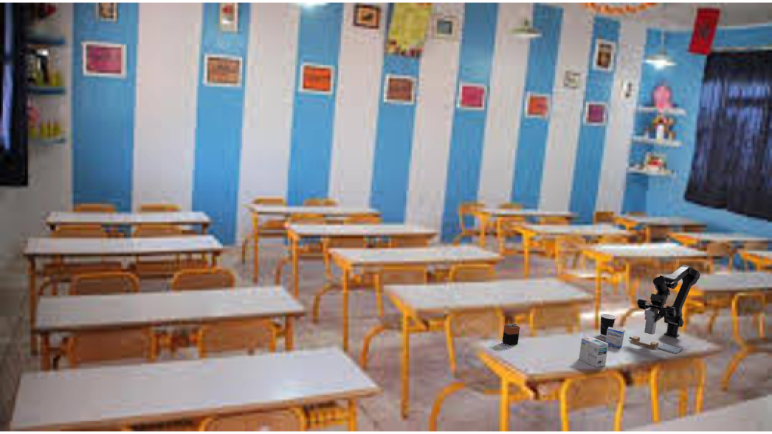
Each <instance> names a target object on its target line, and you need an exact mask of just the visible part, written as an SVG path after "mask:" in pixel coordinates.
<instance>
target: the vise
mask: <svg viewBox="0 0 772 434" xmlns="http://www.w3.org/2000/svg"><path fill="white" fill-rule="evenodd" d="M629 339H630V343H631V344H635V345H638V346H641V347H644V348H648V349H651V350H655V349H658V347H659V341H656V340H653V341H651V342H650V343H645V342H642V341H641V336H638V335H634V336H629Z"/></svg>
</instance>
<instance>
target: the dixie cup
mask: <svg viewBox="0 0 772 434" xmlns="http://www.w3.org/2000/svg"><path fill="white" fill-rule="evenodd" d="M616 319H617V316H615V315H613V314H610V313H609V314H608V313H601V314H600V336H601V337H603V336H604V337H603V338H606V335H607V329H608V327H612V328H614V325H615V321H616Z"/></svg>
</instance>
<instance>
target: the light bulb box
mask: <svg viewBox="0 0 772 434" xmlns="http://www.w3.org/2000/svg"><path fill="white" fill-rule="evenodd" d="M608 349H609V345H608V343H605V341H602V340H600V339H598V338H595V337H593V336H585V337H581V341H580V350H579V355H578V360H580V361H582V362H585V363H587V364H589V365H591V366H593V367H596V368H598V367H602V366H606V365H607V364H606V363H607V356H608Z"/></svg>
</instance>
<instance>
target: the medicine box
mask: <svg viewBox="0 0 772 434" xmlns="http://www.w3.org/2000/svg"><path fill="white" fill-rule="evenodd" d="M625 331H626V330H624V329H619V328H616V327H613V328H612V327H608V329H607V335H606V337H605V341H604V342H605V343H608V347H614V348H619V349H621V348H622V346H623V342H624V338H625V337H624V335H625Z"/></svg>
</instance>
